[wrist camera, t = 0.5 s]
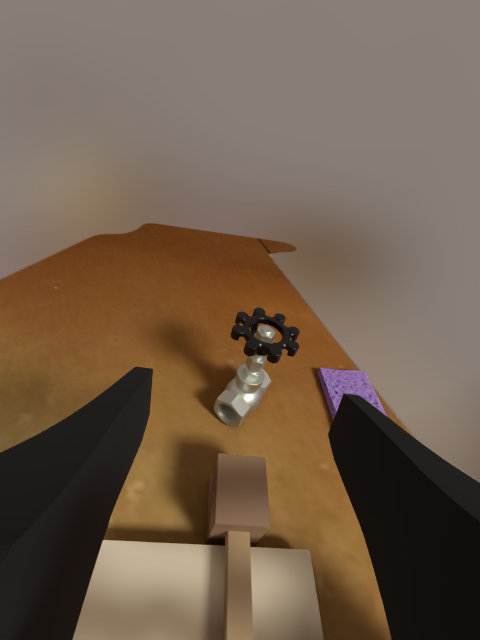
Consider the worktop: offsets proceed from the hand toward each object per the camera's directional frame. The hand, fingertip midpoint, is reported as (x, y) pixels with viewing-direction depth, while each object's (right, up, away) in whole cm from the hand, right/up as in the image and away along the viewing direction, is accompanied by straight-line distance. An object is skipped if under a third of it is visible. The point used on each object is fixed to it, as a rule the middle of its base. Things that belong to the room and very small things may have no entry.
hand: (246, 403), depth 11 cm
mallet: (-1, -16, +12) cm, 20 cm away
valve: (0, -7, +24) cm, 25 cm away
